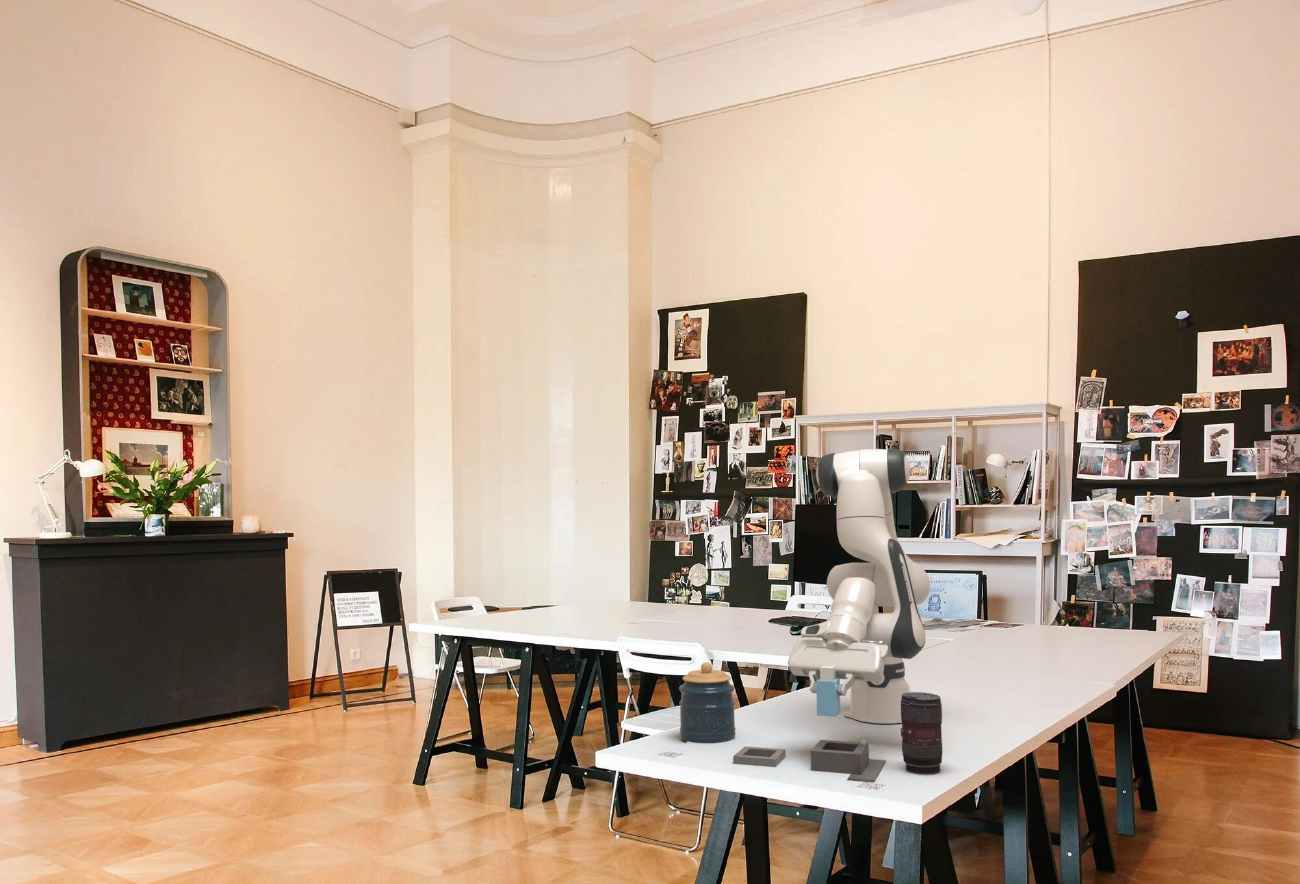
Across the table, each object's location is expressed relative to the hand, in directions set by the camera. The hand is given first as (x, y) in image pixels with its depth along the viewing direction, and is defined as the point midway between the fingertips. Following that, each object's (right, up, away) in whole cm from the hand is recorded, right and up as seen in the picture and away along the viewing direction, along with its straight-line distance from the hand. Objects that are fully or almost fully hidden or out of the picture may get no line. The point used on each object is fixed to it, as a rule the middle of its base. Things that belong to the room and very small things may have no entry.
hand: (827, 692), depth 205 cm
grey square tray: (-13, -16, +5) cm, 21 cm away
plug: (0, -4, 0) cm, 4 cm away
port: (+3, -15, -1) cm, 15 cm away
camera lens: (+19, -15, -3) cm, 24 cm away
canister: (-23, -18, +27) cm, 40 cm away
